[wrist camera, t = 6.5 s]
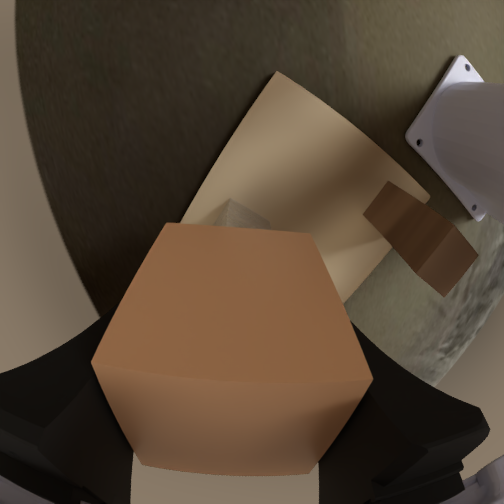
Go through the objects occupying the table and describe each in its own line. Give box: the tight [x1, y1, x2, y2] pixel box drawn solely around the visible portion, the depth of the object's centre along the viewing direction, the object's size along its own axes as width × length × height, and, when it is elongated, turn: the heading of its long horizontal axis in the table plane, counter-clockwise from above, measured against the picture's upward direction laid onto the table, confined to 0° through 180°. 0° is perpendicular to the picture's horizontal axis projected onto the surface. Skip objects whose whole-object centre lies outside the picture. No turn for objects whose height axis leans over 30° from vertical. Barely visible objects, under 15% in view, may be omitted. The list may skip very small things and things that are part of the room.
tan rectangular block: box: [91, 223, 373, 476], centre depth 9 cm, size 5×5×7 cm
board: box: [180, 71, 431, 303], centre depth 17 cm, size 12×11×1 cm
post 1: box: [213, 198, 271, 230], centre depth 14 cm, size 3×3×7 cm
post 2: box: [362, 181, 478, 297], centre depth 14 cm, size 3×3×7 cm
